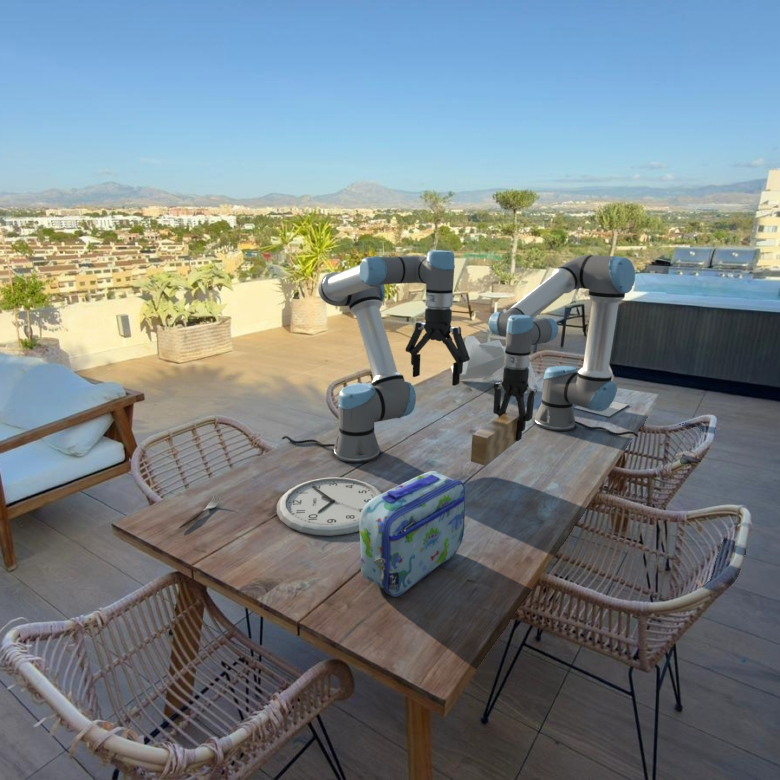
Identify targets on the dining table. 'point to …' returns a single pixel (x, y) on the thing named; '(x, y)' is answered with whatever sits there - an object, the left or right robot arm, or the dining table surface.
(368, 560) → the lunch box
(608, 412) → the invitation card
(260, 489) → the dining table surface
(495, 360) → the white plastic object
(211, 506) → the fork
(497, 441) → the bar
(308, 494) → the wall clock
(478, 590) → the dining table surface
